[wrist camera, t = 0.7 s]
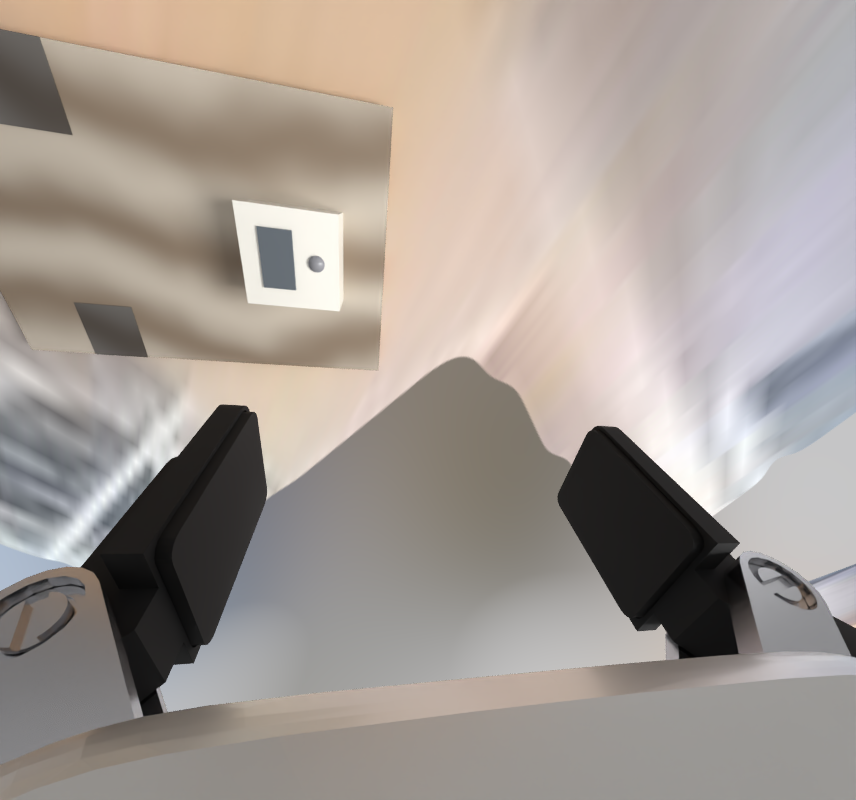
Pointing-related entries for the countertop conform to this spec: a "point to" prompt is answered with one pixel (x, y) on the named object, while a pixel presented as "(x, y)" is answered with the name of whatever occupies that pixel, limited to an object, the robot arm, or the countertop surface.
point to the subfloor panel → (177, 206)
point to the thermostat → (290, 254)
